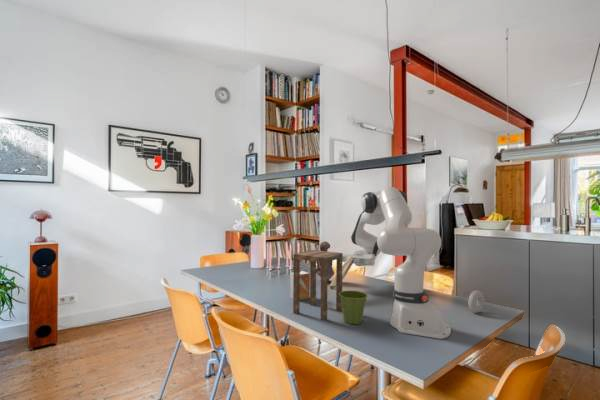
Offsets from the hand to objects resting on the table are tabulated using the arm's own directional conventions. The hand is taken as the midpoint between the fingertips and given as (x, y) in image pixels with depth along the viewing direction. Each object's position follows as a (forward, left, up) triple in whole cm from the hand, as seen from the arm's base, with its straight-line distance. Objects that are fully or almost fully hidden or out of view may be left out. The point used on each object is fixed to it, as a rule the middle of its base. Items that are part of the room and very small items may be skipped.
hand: (349, 260), depth 172 cm
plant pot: (-18, +35, -18) cm, 43 cm away
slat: (0, +7, -6) cm, 9 cm away
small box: (+18, +21, -18) cm, 33 cm away
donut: (-59, -7, -18) cm, 62 cm away
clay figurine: (+24, -16, -18) cm, 34 cm away
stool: (0, +33, -18) cm, 37 cm away
